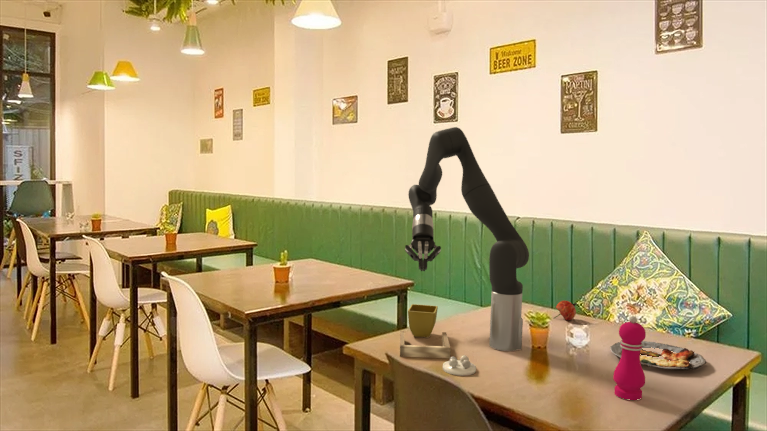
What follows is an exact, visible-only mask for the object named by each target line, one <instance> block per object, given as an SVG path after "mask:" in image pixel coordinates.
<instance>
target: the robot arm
mask: <svg viewBox="0 0 767 431" xmlns="http://www.w3.org/2000/svg"><path fill="white" fill-rule="evenodd" d="M426 152H427V153H426V158H425V163H424V164H425V165H424V168H423V171H422V172H421V175H420V178H419V180H418V184H413V185H412V186H410V187H409V189H408V194H407V195H408V199H409V200H408V201H409V203H410V206H411V209H412V228H411V232H412V233H411V239H412V240H411V242H410V244H409V245H408V244H406V245H405V246H404V252H405V253H406V254H408V256H409V257H410V258H411V259H412V260H413V262H416V261H417V262H418V270H420V272H426V270H428V262H432V261H434V260H435V259H436V258H437V256H438V255H440V253H441V251H442V246H441V245H436V242H435V240H434V236H435V234H434V220H433V208H432V205H435V203H436V202H437V196H438V195H437V194H438V193H437V189H438V186H439V185H440V182H441V180H442V178H443V177H442V176H443V169H442V166H441V165H440V163H441V161H442V160H443V159H448V158H453V157H457V158H458V160H459V162H460V165H461V167H462V178H461V187H460V189H461V195H462V198H463V199H464V202H465V203H466V205H467V207H468V209H469V211H470V212H471V213H472V214H473V215H474V216H475V218H476V219H478V220H479V221H480V223H482V224H483V225H484V226H485V227H486V228H487V229H488V230H489V231H490V232H491V233H492V235H493V236H494V238H495V240H496V242H494V243H493V244H492V246H491V249H490V251H489V264H488V265H489V269H488V270H489V275H488V276H489V282H490V285H491V294H490V295H491V297H490V298H491V300H490V301H491V302H490V320H489V321H490V323H489V338H488V339H489V347H490V348H492V349H494V350H497V351H503V352H504V351H505V352H513V351H519V350H521V351H522V349H523V348H522V345H523V343H522V342H523V324H524V320H523V317H522V312H523V311H522V310H523V289H524V287H523V286H524V285H523V283H522V282H521V281H519V280H518V279H517V269H520V268H523V267H524V266H526V265H527V263H528V262H529V260H530V252H529V249H528V246H527V244H526V242H525V241H524V239H523V238H522V237H521V235H520V234H519V232H518V231H517V230H516V228H515V226H514V225H513V224H512V222H511V220H510V219H509V217H508V215H507V213H506V212H505V210H504V208H503V206H502V205H501V203H500V201H499V200H498V198H497V195H496V193H495V192H494V190H493V188H492V186H491V184H490V183H489V180H488V179H487V178H486V176H485V174H484V173H483V171H482V169H481V167H480V165H479V163H478V161H477V159H476V157H475V154H474V152H473V150H472V147H471V145H470V143H469V141H468V138H467V136H466V134H465V133H464V131H463V130H462V129H461V128H459V127H457V126H455V127H450V128H445V129H440V130H438V131H435V132H433V133H432V135H431V137H430V140H429V142H428V147H427V151H426ZM432 250H433V251H432ZM428 254H429V255H428Z"/></svg>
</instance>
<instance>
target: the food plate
mask: <svg viewBox="0 0 767 431" xmlns="http://www.w3.org/2000/svg"><path fill="white" fill-rule="evenodd" d="M641 343H642V344H643V346H642V348H651V347H652V348H654V349H655V348H659V349H663V350H662V353H661V354H660V353H659V352H655V351H653V352H652V351H646V350H643V349H642V350H640V354H641V355H647V356H652V357H646V356H641V355H640V363H641V365H646V366H648V367H649V368H651V367H655V368H659V369H665V370H669V371H670V370H675V371H676V370H679V371H680V370H681V371H682V370H694V369H695V370H696V369H699V368H700V367H702V366H704V365H706V364H707V360H706V359H705V358H704V356H703V355H701V354H699V353H696V352H695V351H693V350H692V349H691V350H690V349H688V348H686V347H681V346H675V345H670V344H668V343H660V342H656V341H645V340H643V341H642V342H641ZM620 344H621V342H620V341H619V342H616V343H614V344H612V345H611V346H609V350H610V351H611V353H612V354H614V355H615V356H617V357H619V359H621V355H622V347H621V346H620ZM671 351H673V352H676V353H673V352H671ZM658 353H659V354H658ZM659 356H662V357H663V358H664V359H658V358H653V357H659ZM669 360H670V361H669ZM689 362H690V363H689Z"/></svg>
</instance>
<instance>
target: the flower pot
mask: <svg viewBox="0 0 767 431" xmlns="http://www.w3.org/2000/svg"><path fill="white" fill-rule="evenodd" d="M438 309H439V308H438V305H431V304H430V305H428V304H414V303H412V304H411V305H410V307H409V309H408V310H407V316H408V317H407V319H408V326H409V327H408V328H409V330H410V332H411V334H412V336H413V337H415V338H416V337H418V338H430V337H431V335H432V332H433V330H434V328H435V326H436V325H435V324H436V321H437V315H438Z"/></svg>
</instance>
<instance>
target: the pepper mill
mask: <svg viewBox="0 0 767 431" xmlns="http://www.w3.org/2000/svg"><path fill="white" fill-rule="evenodd" d="M618 329H619V330H618V335H619V337H620V338H621V340H620V341H619V342H621V344H620V346H621V347H622V355H621V358H619V362H618V363H617V365H616V366H615V369H614V371H613V376H612V378H613V381H614V382H615V384H616V385H614V392H613V393H614V395H615V396H616V397H617V396H618V397H617V398H619V397H621V398H620V399H622V398H624V399H623V400H625V399H630V400H637V399H640V398H641V399H642V398H643V390H642V388H643V387H645V384H646V375H645V371H644V369H643V367H642V364H641V363H640V350H642V346H643V344H642V343H641V342H642V341H645V339H646V335H647V334H646V333H647V332H646V329H645V327H644V326H643V325H642V324H640V323H638V318H637V317H636V316H635V315H631V316H629V318H628V321H626V322H623V323H622V324H621V325H620V326H619V328H618ZM641 399H640V400H641ZM630 400H629V401H630ZM637 401H638V400H637Z"/></svg>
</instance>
